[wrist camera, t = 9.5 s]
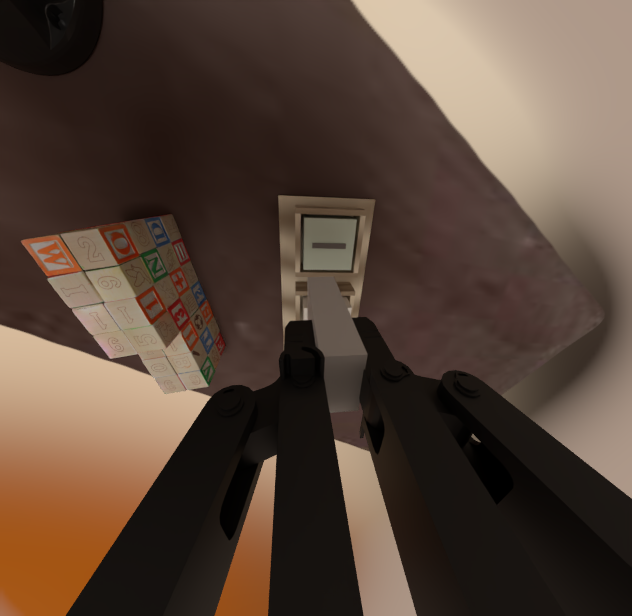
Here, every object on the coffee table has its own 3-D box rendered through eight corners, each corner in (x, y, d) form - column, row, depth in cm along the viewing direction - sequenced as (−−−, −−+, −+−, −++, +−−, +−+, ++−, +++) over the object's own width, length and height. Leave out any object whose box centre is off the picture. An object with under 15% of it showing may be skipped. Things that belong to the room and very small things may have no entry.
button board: (279, 195, 28) (276, 196, 24) (371, 199, 29) (385, 201, 25) (285, 372, 42) (284, 393, 38) (347, 370, 43) (353, 390, 39)
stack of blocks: (227, 345, 38) (200, 407, 28) (191, 351, 38) (150, 415, 27) (172, 212, 28) (95, 227, 17) (122, 219, 28) (14, 240, 17)
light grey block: (303, 214, 28) (304, 217, 24) (350, 216, 28) (357, 219, 25) (302, 261, 31) (303, 270, 27) (345, 262, 31) (351, 270, 28)
